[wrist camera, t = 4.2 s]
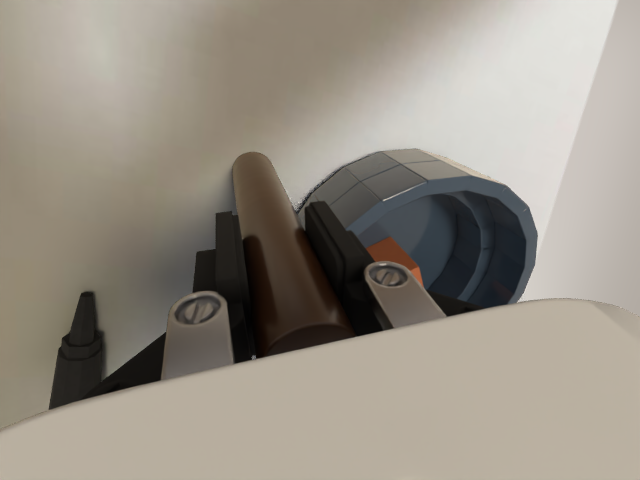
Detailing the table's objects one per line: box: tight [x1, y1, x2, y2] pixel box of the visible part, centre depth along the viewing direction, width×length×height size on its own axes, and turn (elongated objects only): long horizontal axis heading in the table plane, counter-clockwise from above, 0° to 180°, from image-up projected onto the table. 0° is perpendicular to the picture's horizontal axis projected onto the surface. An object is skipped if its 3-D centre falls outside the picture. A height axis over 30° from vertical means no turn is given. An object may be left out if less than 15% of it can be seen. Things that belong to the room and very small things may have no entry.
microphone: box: [49, 292, 102, 410], centre depth 22 cm, size 6×6×20 cm
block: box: [366, 237, 424, 288], centre depth 23 cm, size 4×4×4 cm
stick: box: [232, 152, 357, 359], centre depth 13 cm, size 2×2×14 cm
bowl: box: [297, 149, 538, 308], centre depth 22 cm, size 16×16×6 cm
